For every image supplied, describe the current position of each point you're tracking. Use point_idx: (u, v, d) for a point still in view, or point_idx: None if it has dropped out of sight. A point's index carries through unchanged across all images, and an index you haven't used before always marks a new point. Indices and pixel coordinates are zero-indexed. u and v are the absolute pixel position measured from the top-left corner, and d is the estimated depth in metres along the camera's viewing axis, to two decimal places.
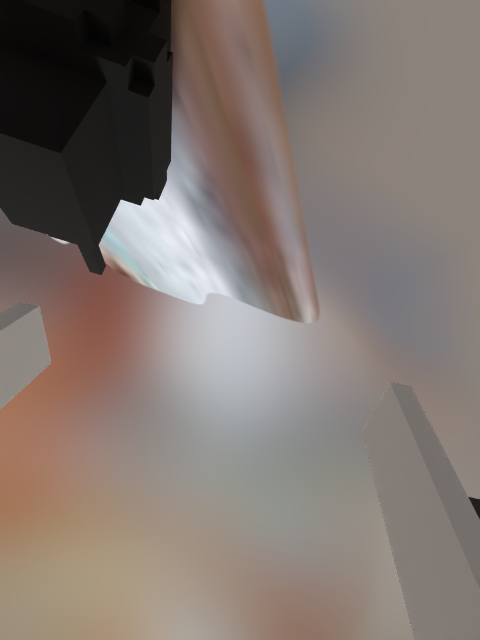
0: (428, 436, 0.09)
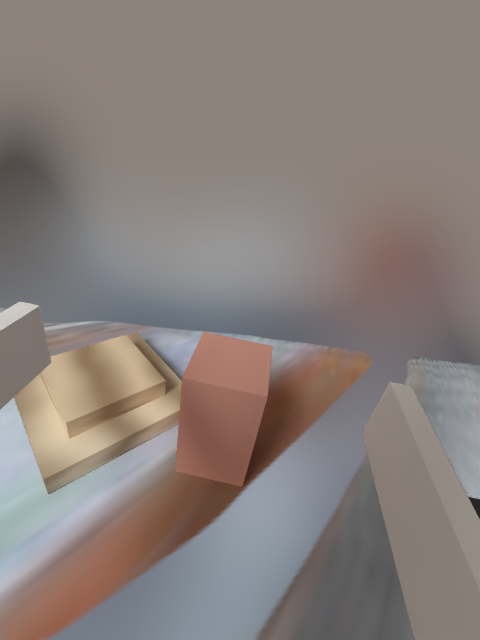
0: (428, 436, 0.09)
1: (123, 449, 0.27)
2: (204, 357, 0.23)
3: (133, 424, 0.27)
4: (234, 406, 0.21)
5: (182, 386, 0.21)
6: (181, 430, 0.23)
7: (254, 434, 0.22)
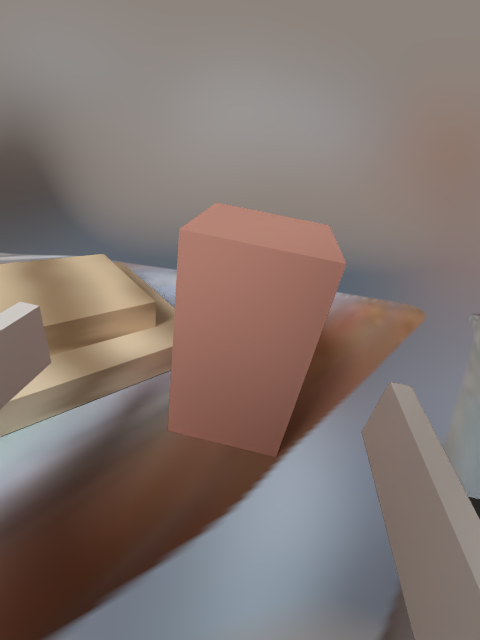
0: (428, 436, 0.09)
1: (85, 395, 0.17)
2: (220, 218, 0.13)
3: (102, 358, 0.17)
4: (276, 291, 0.11)
5: (180, 250, 0.11)
6: (177, 351, 0.14)
7: (308, 353, 0.12)
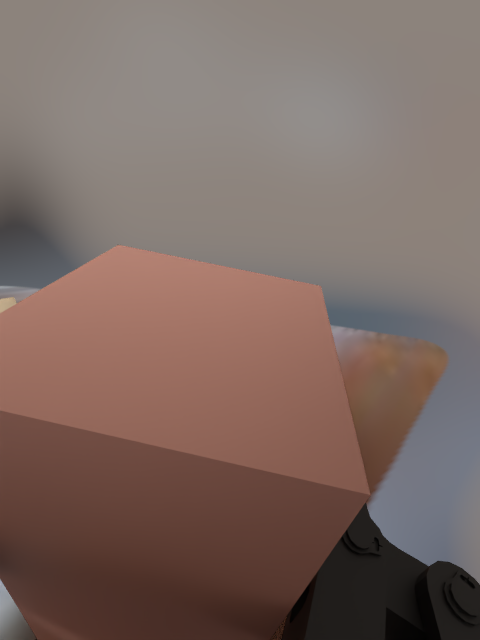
0: None
1: None
2: (81, 301, 0.06)
3: None
4: (182, 520, 0.04)
5: None
6: (6, 573, 0.06)
7: (276, 612, 0.05)
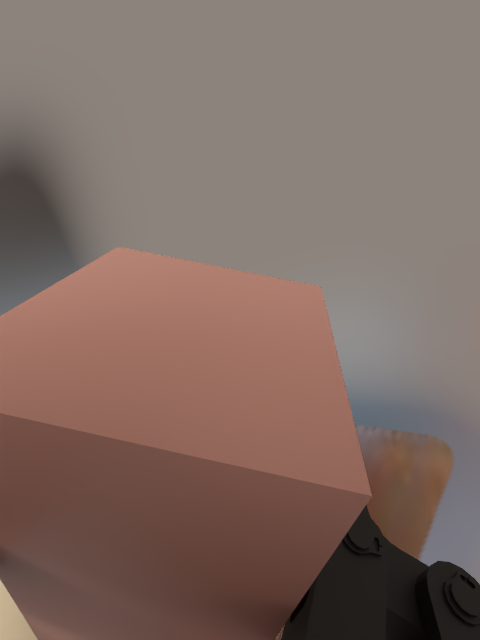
0: None
1: None
2: (81, 303, 0.06)
3: None
4: (184, 522, 0.04)
5: None
6: (7, 576, 0.06)
7: (279, 614, 0.05)
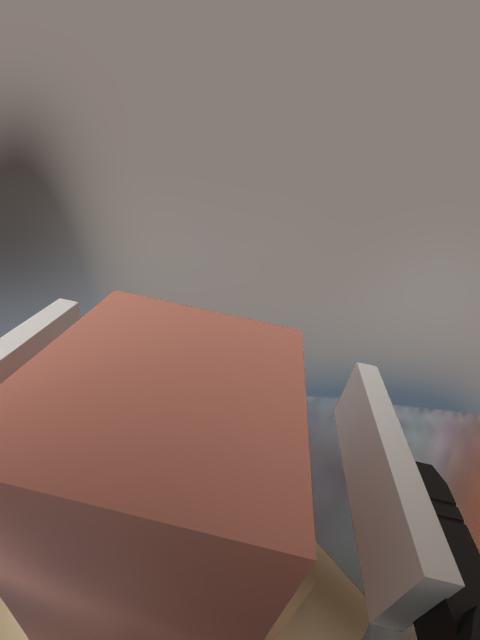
0: (385, 408, 0.09)
1: None
2: (78, 360, 0.07)
3: None
4: (164, 570, 0.05)
5: None
6: (11, 601, 0.07)
7: None
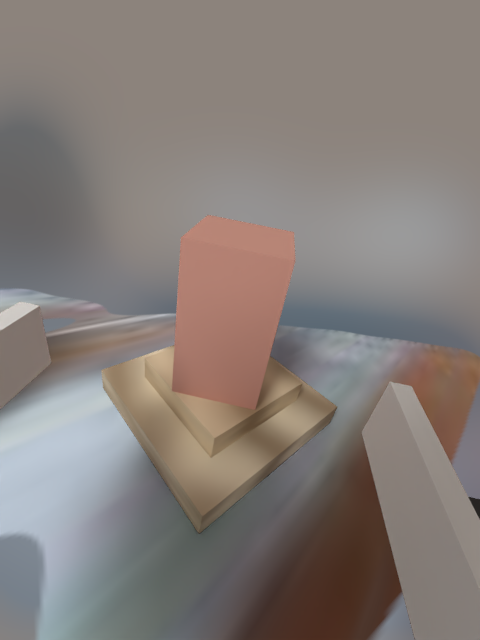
0: (428, 436, 0.09)
1: (269, 470, 0.21)
2: (209, 228, 0.18)
3: (277, 438, 0.22)
4: (249, 280, 0.16)
5: (181, 252, 0.16)
6: (179, 326, 0.18)
7: (274, 325, 0.17)
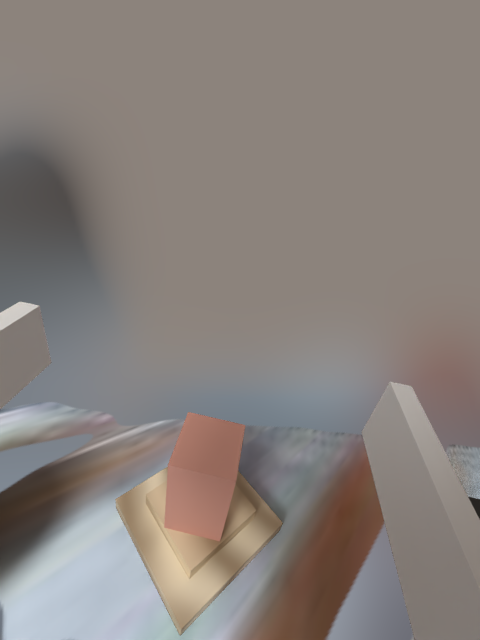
0: (428, 436, 0.09)
1: (229, 582, 0.31)
2: (187, 441, 0.28)
3: (236, 558, 0.32)
4: (210, 485, 0.26)
5: (168, 470, 0.26)
6: (168, 499, 0.29)
7: (227, 505, 0.28)
